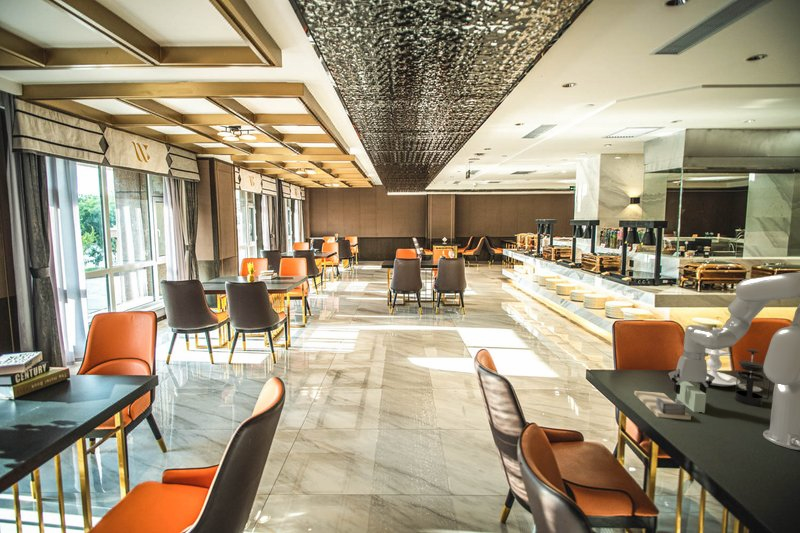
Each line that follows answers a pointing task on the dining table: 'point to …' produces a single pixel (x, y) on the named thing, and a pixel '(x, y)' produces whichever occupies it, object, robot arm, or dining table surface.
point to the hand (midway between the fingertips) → (689, 393)
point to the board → (663, 405)
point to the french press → (750, 383)
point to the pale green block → (692, 397)
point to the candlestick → (716, 364)
